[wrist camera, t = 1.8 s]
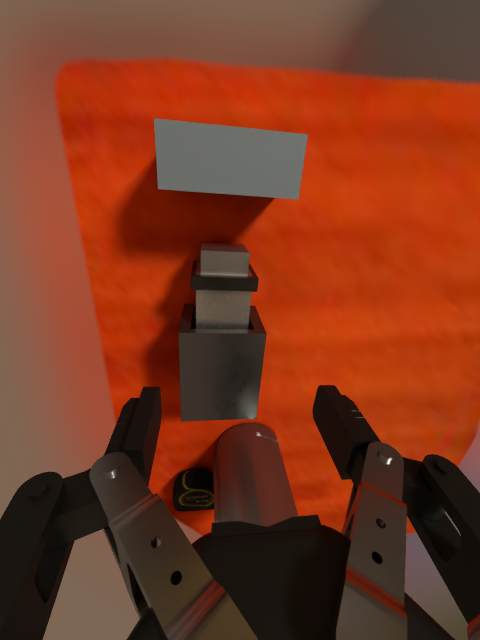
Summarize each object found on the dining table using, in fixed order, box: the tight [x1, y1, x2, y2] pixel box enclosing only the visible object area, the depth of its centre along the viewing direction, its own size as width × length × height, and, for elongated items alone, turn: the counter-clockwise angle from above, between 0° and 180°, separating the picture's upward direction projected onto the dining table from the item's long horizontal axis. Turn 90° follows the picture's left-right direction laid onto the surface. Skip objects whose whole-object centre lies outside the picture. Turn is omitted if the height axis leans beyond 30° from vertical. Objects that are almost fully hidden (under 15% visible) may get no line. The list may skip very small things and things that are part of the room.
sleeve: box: [178, 304, 266, 421], centre depth 30 cm, size 10×8×7 cm
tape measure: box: [173, 469, 214, 511], centre depth 42 cm, size 7×7×4 cm
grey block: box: [154, 118, 308, 199], centre depth 22 cm, size 4×10×7 cm, turn 86°
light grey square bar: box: [191, 242, 258, 330], centre depth 29 cm, size 17×6×6 cm, turn 176°
